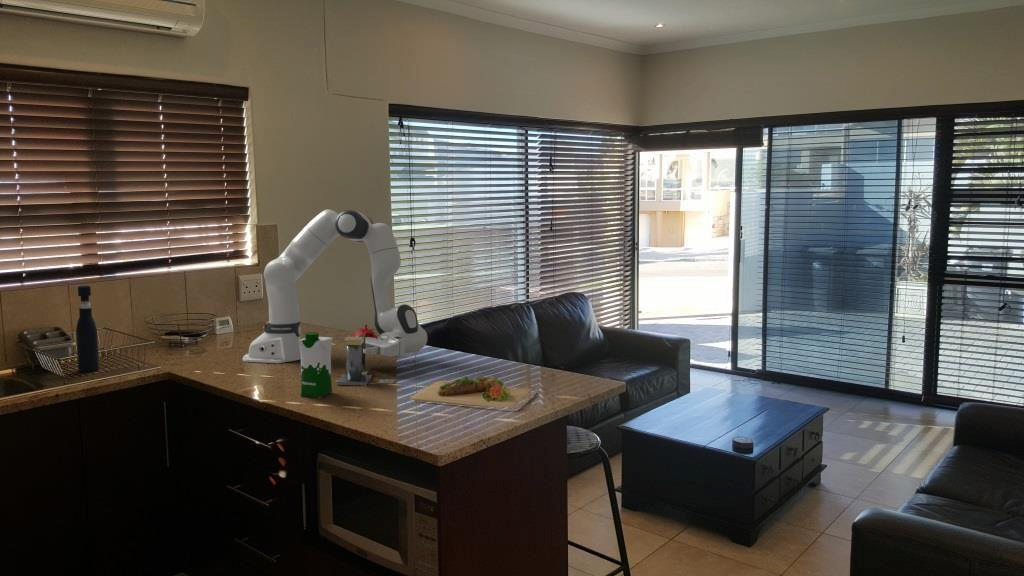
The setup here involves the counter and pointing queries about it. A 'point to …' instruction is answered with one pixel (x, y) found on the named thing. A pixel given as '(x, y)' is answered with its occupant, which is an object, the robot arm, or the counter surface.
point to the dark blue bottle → (86, 334)
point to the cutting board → (472, 393)
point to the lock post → (356, 368)
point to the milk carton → (315, 365)
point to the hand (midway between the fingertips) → (357, 349)
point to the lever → (357, 341)
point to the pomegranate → (366, 332)
